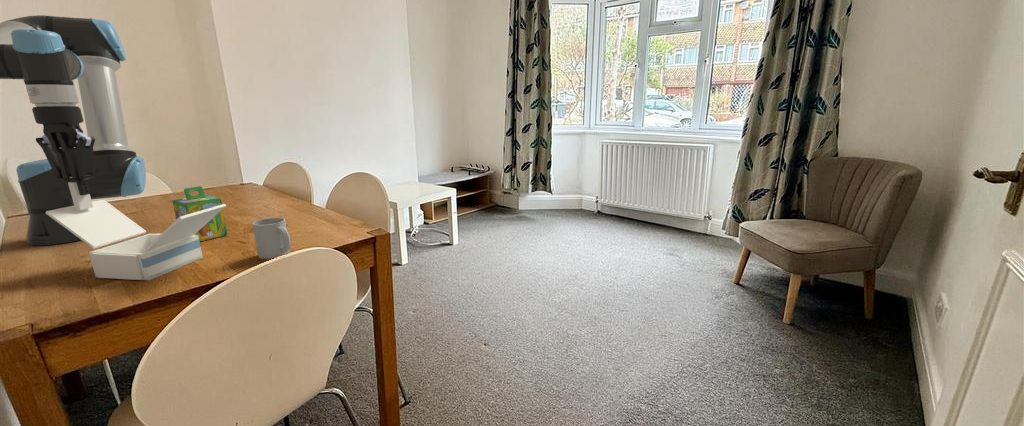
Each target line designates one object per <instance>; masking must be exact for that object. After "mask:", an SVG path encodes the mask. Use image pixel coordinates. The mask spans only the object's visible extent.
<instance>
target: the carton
mask: <svg viewBox="0 0 1024 426" xmlns="http://www.w3.org/2000/svg"><path fill="white" fill-rule="evenodd" d="M162 233H163V232H160V233H159V232H158V233H147V234H146V233H145V234H142V235H139V236H136V237H132V238H129V239H126V240H123V241H121V242H120V241H119V242H116V243H115V244H114V243H113V244H110V245H106V246H105V247H104V246H103V247H102V248H101V247H100V248H96V249H93V250H91V251H89V252H88V254H89V258H90V261H91V266H92V269H93V271H94V272H93V273H94V276H95V278H97V279H98V278H99V279H115V280H116V279H118V280H131V281H132V280H133V281H135V280H136V281H151V280H154V279H155V278H156V279H157V278H159V277H161V276H163V275H165V274H168V273H170V272H172V271H175V270H178V269H180V268H182V267H185V266H188V265H190V264H193V263H195V262H196V261H199V260H202V259H203V258H204V257H203V253H202V248H201V246H202V245H201V241H200V240H199V237H198V235H192V236H189V237H186V238H184V239H181V240H178V241H175V242H172V243H169V244H166V245H163V246H161V247H158V248H155V249H152V250H149V251H146V250H145V249H146V248H147V247H148V246H149V245H150V244H151V243H152V242H153V241H154V240H155V239H156V238H157V237H158V236H160V235H161V234H162Z"/></svg>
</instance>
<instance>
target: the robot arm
mask: <svg viewBox="0 0 1024 426" xmlns="http://www.w3.org/2000/svg"><path fill="white" fill-rule="evenodd" d="M126 60H127V58H126V53H125V50H124V47H123V44H122V42H121V40H120V36H119V35H118V32H117V30H116V28H115V26H114V24H112V23H111V22H110V21H108V20H104V19H97V18H91V17H89V18H85V17H82V18H81V17H69V16H67V17H66V16H55V15H46V14H45V15H27V16H22V17H21V16H20V17H16V18H12V19H8V20H5V21H2V22H0V80H23V82H24V85H25V88H26V92H27V95H28V99H29V102H30V104H31V105H34V106H33V107H32V108H31V111H32V114H33V117H34V121H35V123H36V124H38V125H42V126H43V129H42V131H43V135H42V136H40V137H36V138H35V142H36V143H37V145H39V147H40V148H41V150H42V151H43V153H44V155H45V157H46V159H44V158H43V159H39V160H33V161H28V162H24V163H21V164H19V165H18V166H17V167H16V174H17V179H18V180H17V183H18V185H19V187H20V190H21V194H22V195H23V199H24V203H25V206H26V208H27V211H28V214H29V215H28V216H29V217H28V218H29V219H28V224H27V225H28V226H27V231H26V240H27V244H28V245H29V246H52V245H58V244H65V243H71V242H77V241H82V240H81V239H80V238H78V237H77V236H76V235H74V234H73V233H71V232H70V231H69V230H67V229H66V228H65V227H63V226H62V225H61V224H59V223H58V222H57V221H55V220H54V219H52V218H51V217H50V216H48V215H47V214H46V211H50V210H55V209H60V208H65V207H69V206H75V210H83V209H88V208H93V204H92V202H93V201H92V200H103V199H111V198H121V197H122V198H127V197H130V196H131V197H132V196H137V195H140V194H142V193H143V192H144V191H145V188H146V184H147V183H146V182H147V180H146V179H147V173H146V172H147V171H146V170H147V169H146V165H145V161H144V159H143V157H141V156H137V152H136V151H135V150H134V149H132V148H131V147H129V143H128V142H129V141H128V137H127V132H126V127H125V126H126V125H125V122H124V121H125V119H124V115H123V109H122V103H121V98H120V93H119V87H118V81H117V74H116V72H117V71H118V70H119V69H120V68H121V62H124V61H126ZM75 80H77V83H78V87H79V89H78V90H79V95H80V101H81V104H82V109H81V107H79V106H78V104H79V103H80V101H79V97H78V93H77V90H76V86H75V84H74V81H75ZM82 112H83V113H82ZM83 116H84V117H83ZM84 121H85V128H86V134H87V135H86V134H84V131H83V129H82V127H81V125H80V124H82V123H84Z"/></svg>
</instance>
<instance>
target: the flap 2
mask: <svg viewBox="0 0 1024 426" xmlns="http://www.w3.org/2000/svg"><path fill="white" fill-rule="evenodd" d="M226 207H227V205H226V204H225V203H222V205H219V206H215V207H212V208H208V209H205V210H201V211H198V212H194V213H191V214H187V215H184V216H181V217H179V218H178V219H177V220H176V219H175V220H174V222H172V224H171V223H170V225H169V226H168V227H166V229H165V230H164V231H163V232H161V233H162V234H161V235H160V236H158V237H157V238H156V239H155V240H154V241H153V242H152V243H151V244H150V245H149V246H148V247H147V248H146V249H145V250H146V251H149V250H152V249H155V248H158V247H161V246H163V245H166V244H169V243H172V242H175V241H178V240H181V239H184V238H186V237H189V236H192V235H194V234H195V233H197V232H198V231H199V230H200V229H201V228H202V227H203V226H204V225H206V224H207V223H208V222H209V221H210V220H211V219H212V218H213V217H214V216H216V215H217V214H218V213H219V212H220V211H221V210H222V209H223V210H224V209H225V208H226Z"/></svg>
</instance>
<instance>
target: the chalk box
mask: <svg viewBox="0 0 1024 426" xmlns="http://www.w3.org/2000/svg"><path fill="white" fill-rule="evenodd" d="M195 191H196V192H198V194H197V195H192V194H191V193H192V192H195ZM183 193H184V196H185V198H179V199H178V198H177V199H174V200H172V201H171V202H172V206H173V210H174V215H175V216H174V217H175V221H176V220H177V219H178V218H179V217H181V216H184V215H187V214H191V213H194V212H198V211H201V210H205V209H208V208H212V207H215V206H219V205H222V204H223V202H222V199H221V198H220V197H216V196H214V195H206V194H205V192H204V189H203V187H202V186H200V185H198V186H191V187H185V188H184V189H183ZM226 225H227V224H226V218H225V214H224V208H223V209H222V210H221V211H220V212H219V213H218V214H217V215H216V216H214V217H213V218H212V219H211V220H210V221H209V222H208V223H207V224H206V225H204V226H203V227H202V228H201V229H200V230H199V231H198V232H197V233H195V234H194V235H198V237H199V240H200V242H204V241H208V240H212V239H213V240H214V239H218V238H222V237H223V238H224V237H227V236H228V231H227V230H228V229H227V226H226Z"/></svg>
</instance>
